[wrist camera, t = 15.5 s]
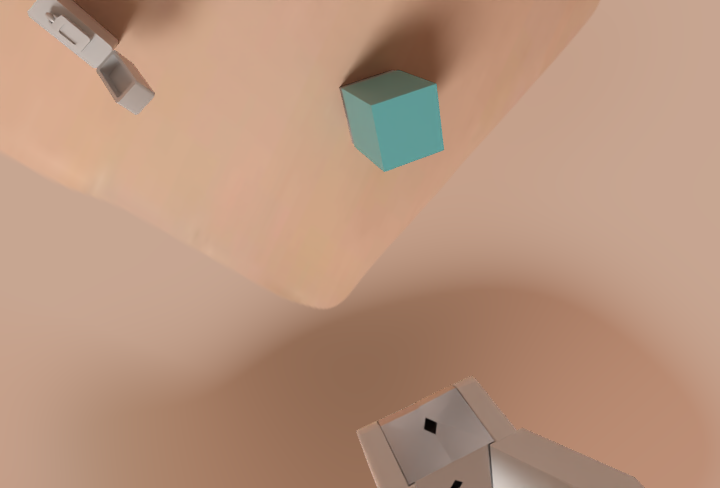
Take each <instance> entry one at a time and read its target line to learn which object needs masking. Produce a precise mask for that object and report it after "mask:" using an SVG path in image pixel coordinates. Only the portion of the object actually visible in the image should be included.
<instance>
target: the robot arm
mask: <svg viewBox="0 0 720 488" xmlns="http://www.w3.org/2000/svg"><path fill="white" fill-rule="evenodd" d="M356 432H357V435H358V437H359V440H360V443H361V446H362V448H363V451H364V454H365V457H366V460H367V462H368V465H369V467H370V470H371V472H372V475H373V478H374V480H375V483H376V485H377V487H378V488H644V487H643V486H642V485H641V484H640V482H638V480H637V479H636V478H635V477H633V476H630V475H628V474H626V473H624V472H621V471H619V470H617V469H615V468H612V467H610V466H608V465H606V464H603V463H601V462H599V461H596V460H594V459H592V458H590V457H587V456H585V455H583V454H581V453H578V452H576V451H574V450H572V449H569V448H567V447H565V446H563V445H560V444H558V443H556V442H553V441H551V440H549V439H547V438H544V437H542V436H540V435H538V434H535V433H533V432H531V431H528V430H526V429H524V428H521V429H519V430H516V429H515V427H514V426H513V425H512V424H511V422H510V421H509V420H508V419H507V417H506V416H505V415H504V414H503V412H502V411H501V410H500V409H499V407H498V406H497V405H496V404H495V402H494V401H493V400H492V399H491V397H490V396H489V395H488V394H487V393H486V391H485V390H484V389H483V387H482V386H481V385H480V384H479V383H478V381H477V380H476V379H475V378H473V377H472V376H469V377H467V378H465V379H463V380H461V381H459V382H457V383H455V384H453V385H450V386H447V387H445V388H443V389H442V390H439V391H438V392H435V393H433V394H431V395H429V396H428V397H425V398H424V399H421V400H420V401H418V402H415V404H413V405H410V406H408V407H406V408H404V409H402V410H400V411H397V412H395V413H393V414H391V415H389V416H387V417H384V418H383V419H380V420H378V421H375V422H373V423H371V424H369V425H367V426H365V427H363V428H361V429H359V430H357V431H356Z"/></svg>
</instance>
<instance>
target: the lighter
mask: <svg viewBox="0 0 720 488" xmlns="http://www.w3.org/2000/svg"><path fill="white" fill-rule="evenodd" d="M28 15H29V17H30V18H31V19H33V20H34V21H35V22H36V23H38V24H39V25H40V26H41V27H43V28H44V29H45V30H46V31H48V32H49V33H50V34H51V35H53V36H54V37H55V38H56V39H58V40H59V41H60V42H61V43H63V44H64V45H65V46H66V47H68V48H69V49H70V50H71V51H73V52H74V53H75V54H76V55H78V56H79V57H80V58H81V59H83V60H84V61H85V62H86V63H88V64H89V65H90V66H91V67H93V68H97V73H98V74H99V76H100V78H101V79H102V81H103V82H104V84H105V86H106V87H107V89H108V90H109V92H110V93H111V95H112V97H113V98H114V100H115V101H116V103H118V104H119V105H121V106H123V107H124V108H126V109H127V110H129V111H131V112H132V113H134V114H135V115H136V114H139V113H140V112H141V111H142V110H143V108H144V107H145V106H146V105H147V104H148V103H149V102H150V101H151V100H152V98H153V97H154V94H155V93H154V92H153V90H152V89H151V88H150V86H149V85H148V83H147V82H146V81H145V79H144V78H143V77H142V75H141V74H140V72H139V71H138V70H137V68H136V67H135V66H134V64H133V63H132V62H130V61H129V60H128V59H126V58H125V57H124V56H122V55H121V54H119V53H118V52H117V51H115V50H114V49H115V47H116V46H117V45H118V44H119V43H118V39H117V38H115V37H114V36H113V35H112V34H111V33H110V32H108V31H107V30H106V29H105V28H104V27H103V26H101V25H100V24H99V23H98V22H97V21H96V20H95V19H93V18H92V17H91V16H90V15H89V14H88V13H86V12H85V11H84V10H83V9H82V8H81V7H80V6H78V5H77V4H76V3H75V2H74V1H73V0H37V1H36V2H35V3H34V4H33V6H32V7H31V8H30V9H29V10H28Z"/></svg>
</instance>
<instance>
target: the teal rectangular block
mask: <svg viewBox="0 0 720 488" xmlns="http://www.w3.org/2000/svg"><path fill="white" fill-rule="evenodd" d="M341 89H342V93H343V98H344V102H345V106H346V111H347V115H348V119H349V124H350V128H351V132H352V137H353V141H354V145H355V147H356V148H357V149H358V150H359V151H360V152H361V153H363V154H364V155H365V156H366V157H367V158H368V159H370V160H371V161H372V162H373V163H374V164H375V165H377V166H378V167H379V168H380V169H381V170H383V171H384V172H385V171H388V170H391V169H394V168H396V167H399V166H402V165H404V164H407V163H410V162H413V161H415V160H418V159H421V158H424V157H426V156H429V155H432V154H434V153H437V152H440V151H443V150H444V146H443V138H442V129H441V120H440V111H439V102H438V93H437V84H436V83H433V82H430V81H428V80H425V79H422V78H419V77H417V76H414V75H411V74H408V73H406V72H403V71H400V70H396V71H393V72H390V73H387V74H384V75H381V76H377V77H374V78H371V79H368V80H365V81H362V82H359V83H356V84H353V85H350V86H346V87H343V88H341Z"/></svg>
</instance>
